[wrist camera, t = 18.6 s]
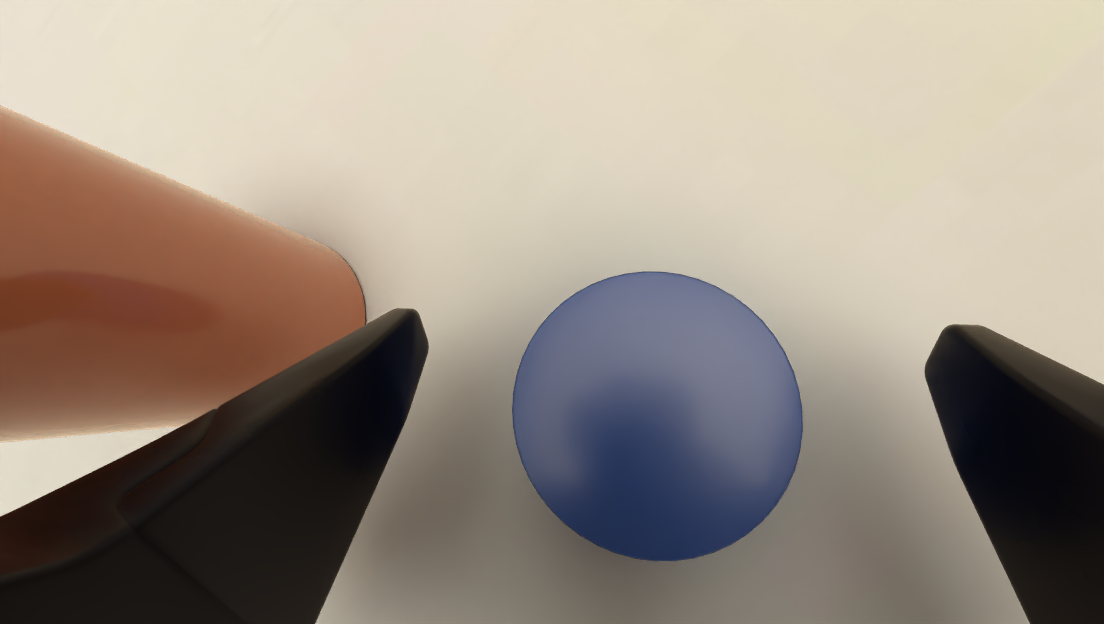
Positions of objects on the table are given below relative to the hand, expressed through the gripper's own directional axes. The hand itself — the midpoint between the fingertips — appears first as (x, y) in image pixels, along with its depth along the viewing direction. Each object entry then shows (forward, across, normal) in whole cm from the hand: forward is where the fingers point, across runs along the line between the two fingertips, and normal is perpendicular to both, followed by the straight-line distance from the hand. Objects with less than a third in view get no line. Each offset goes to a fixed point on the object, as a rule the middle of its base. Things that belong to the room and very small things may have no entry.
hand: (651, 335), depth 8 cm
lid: (+1, 0, +3) cm, 4 cm away
